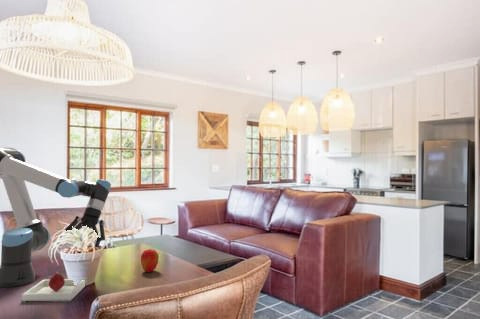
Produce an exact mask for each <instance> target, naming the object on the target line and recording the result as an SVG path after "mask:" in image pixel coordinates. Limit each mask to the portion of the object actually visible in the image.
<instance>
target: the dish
mask: <svg viewBox="0 0 480 319" xmlns="http://www.w3.org/2000/svg"><path fill="white" fill-rule="evenodd" d="M50 279H51V278H50ZM50 279H42V280H41V281H39V282H38V283H37V284H35V285H33V286H32V287H31V288H30V289H28V290H26V291H25V292H23V293H21V302H22V301H53V302H71V301H72V300H73V299H74V298H75V297H76V296H77V295H78V294H79V293H80V292H81V291H82V290H83V289H84V288H85V287H86V286H85V280H81V281H80V282H79V283H78V284H77V285H74V283H73V282H74V281H73V280H70V279H71V278H64V280H65V282H64V285H63V287H62V288H61V289H59V290H58V291H56V292H55V291H54V290H52V289H51V288H50V287H49V281H50ZM53 302H52V303H53Z"/></svg>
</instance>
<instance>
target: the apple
mask: <svg viewBox="0 0 480 319" xmlns="http://www.w3.org/2000/svg"><path fill="white" fill-rule="evenodd" d="M159 257H160V256H159V253H158V252H157V250H155V249H146V250H144V251H143V252H142V254H141V256H140V262H141V263H140V264H141V267H142V270H143V271H145V273H151V272H153V271H155V270H156V268H157V266H158V264H159Z"/></svg>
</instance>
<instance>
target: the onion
mask: <svg viewBox="0 0 480 319" xmlns="http://www.w3.org/2000/svg"><path fill="white" fill-rule="evenodd" d="M64 279H65V278H64V276H63V275H62V274H61V273H59V272H58V271H55V274H54V275H52V276H51V278H50V281H49V287H50V288H51V289H52V290H54V291H55V292H56V291H58V290H59V289H61V288H62V287H63V285H64V282H65V280H64Z"/></svg>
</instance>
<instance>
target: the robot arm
mask: <svg viewBox="0 0 480 319" xmlns="http://www.w3.org/2000/svg"><path fill="white" fill-rule="evenodd" d="M0 179H1V180H2V182H3V185H4V188H5V190H6V191H5V192H6V195H7V197H8V200H9V203H10V207H11V209H12V213H13V215H14V219H15V222H16V224H17V225H16V227H15V229H9V230H8V231H7V230H6V231H5V232H4V233H3V235H2V238H1V253H0V255H1V256H0V288H12V287H13V288H14V287H18V286H24V285H27V284H30V283H32V282H34V281H35V280H36V273H35V270H34V267H33V264H32V255H33V253H35V252H37V251H40V250H42V249H43V248H45V247H46V246H47V245H48V244H49V242H50V239H51V233H50V231H49V229H48V228H47V227H45V226H44V225H43V222H42V220H39V219H38V218H37V215H36V211H35V208H34V205H33V202H32V200H31V197H30V194H29V190H28V188H27V184H26V182H28V183H31V184H33V185H35V186H39V187H40V188H44V189H47V190H49V191H51V192H55V193H57V194H59V195H60V196H61V197H63V198H69V199H70V198H74V197H79V196H83V197H88V198H89V199H88V202H87V204H86V208H85V209H84V211H83V215H82V216H81V217H80V216H78V215H76V216H75V217H74V219H73V221H71V222H70V224H69V225H67V227H65V229H64V230H66V231H67V230H72V229H73V228H76V229H78V231H79V230H81V229H83V228H82V226H86V225H87V227H89V228H88V229H92V231H93V230H95V232H96V233H97V235H98V233H99V236H100V238H99V237H98V238H97V239H94V241H93V243H94V244H95V246H96V247H98V248H99V246H100V243H101V242H102V241H106V234H105V221H104V220H103V219H100V217H101V215H102V212H103V209H104V206H105V203H106V201H107V199H108V196H109V194H110V189H111V187H112V184H111V182H109V181H108V180H106V179H100V178H99V179H97V180H96V181H95V182H92V181H91V182H90V181H87V180H82V179H77V178H72V179H68V178H66V177H63V176H61V175H58V174H56V173H53V172H50V171H47V170H45V169H42V168H39V167H38V166H34V165H32V164H29V163H26V157H25V155H24V154H23V153H22V151H20V150H18V149H16V148H14V147H13V148H12V147H2V146H0ZM97 225H99V226H98V227H99V231H98V228H97ZM72 226H73V228H72ZM69 244H70V242H69V243H65V244H64V243H63V245H62V248H61V250H63V249H65V248H67V249H68V246H69Z"/></svg>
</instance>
